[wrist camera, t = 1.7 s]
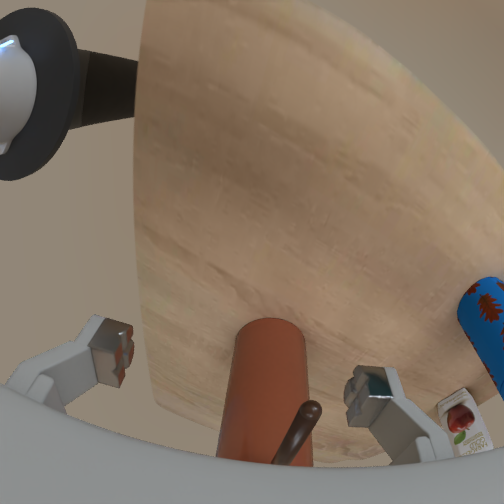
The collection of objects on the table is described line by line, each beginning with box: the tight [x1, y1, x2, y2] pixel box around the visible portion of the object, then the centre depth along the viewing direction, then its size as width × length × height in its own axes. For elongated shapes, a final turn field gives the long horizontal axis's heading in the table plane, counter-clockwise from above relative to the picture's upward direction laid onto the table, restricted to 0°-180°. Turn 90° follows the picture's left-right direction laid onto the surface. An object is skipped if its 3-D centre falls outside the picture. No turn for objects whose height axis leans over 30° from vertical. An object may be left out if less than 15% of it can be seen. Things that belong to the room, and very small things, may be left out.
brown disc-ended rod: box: [270, 400, 322, 466], centre depth 24 cm, size 21×6×2 cm, turn 170°
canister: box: [216, 318, 313, 467], centre depth 39 cm, size 11×11×24 cm
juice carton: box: [438, 388, 494, 457], centre depth 47 cm, size 8×9×19 cm
